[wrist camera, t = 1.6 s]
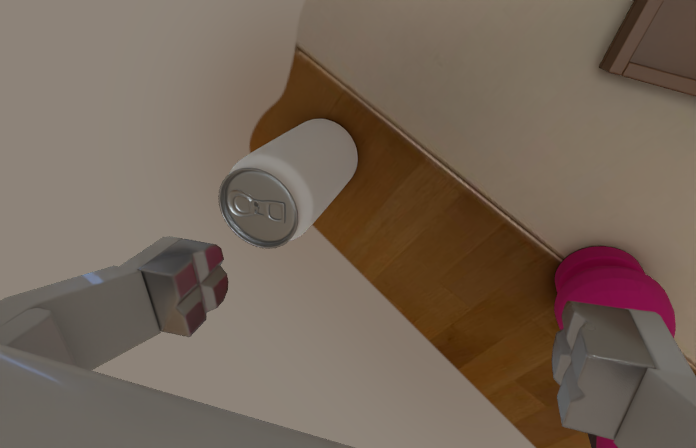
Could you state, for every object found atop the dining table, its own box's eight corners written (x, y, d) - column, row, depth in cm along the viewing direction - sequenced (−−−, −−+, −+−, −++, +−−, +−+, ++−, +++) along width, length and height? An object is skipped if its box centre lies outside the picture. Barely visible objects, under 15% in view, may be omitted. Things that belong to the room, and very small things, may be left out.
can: (291, 112, 34) (207, 153, 24) (362, 122, 33) (304, 171, 23) (291, 181, 37) (217, 242, 27) (356, 193, 36) (303, 264, 26)
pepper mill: (616, 325, 34) (737, 632, 17) (532, 293, 35) (569, 552, 18) (671, 260, 30) (898, 573, 13) (576, 226, 31) (674, 476, 14)
